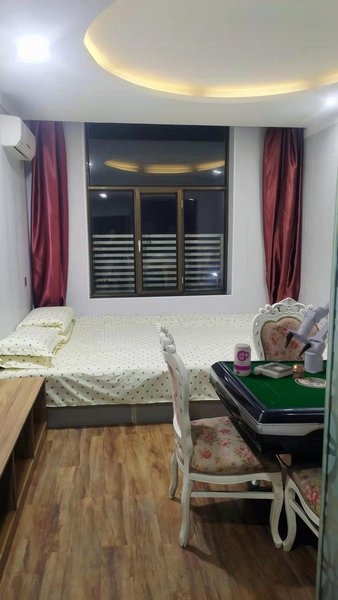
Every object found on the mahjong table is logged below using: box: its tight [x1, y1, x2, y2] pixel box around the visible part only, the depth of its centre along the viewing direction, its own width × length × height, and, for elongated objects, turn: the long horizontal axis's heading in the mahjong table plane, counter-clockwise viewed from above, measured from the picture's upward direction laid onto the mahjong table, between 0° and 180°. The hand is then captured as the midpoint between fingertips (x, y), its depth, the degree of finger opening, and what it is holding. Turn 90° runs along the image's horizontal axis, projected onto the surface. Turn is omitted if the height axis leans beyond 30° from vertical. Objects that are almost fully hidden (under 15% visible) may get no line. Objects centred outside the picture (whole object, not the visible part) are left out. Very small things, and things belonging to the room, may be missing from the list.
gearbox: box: [253, 362, 293, 379], centre depth 216 cm, size 19×14×4 cm
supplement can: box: [233, 343, 252, 377], centre depth 213 cm, size 8×8×15 cm
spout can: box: [292, 363, 307, 380], centre depth 210 cm, size 5×6×6 cm
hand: (292, 351), depth 206 cm, fingers open, 7 cm apart
